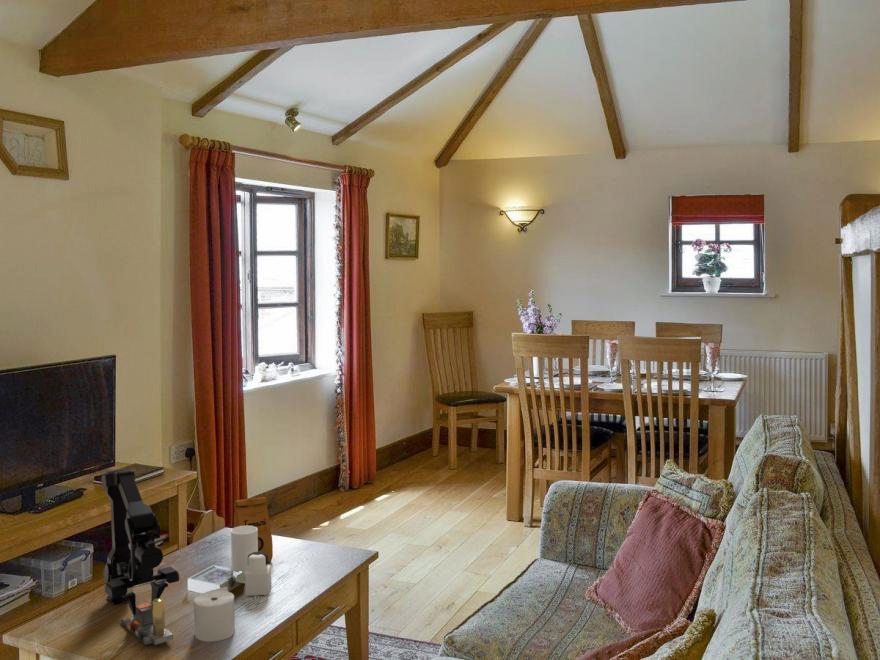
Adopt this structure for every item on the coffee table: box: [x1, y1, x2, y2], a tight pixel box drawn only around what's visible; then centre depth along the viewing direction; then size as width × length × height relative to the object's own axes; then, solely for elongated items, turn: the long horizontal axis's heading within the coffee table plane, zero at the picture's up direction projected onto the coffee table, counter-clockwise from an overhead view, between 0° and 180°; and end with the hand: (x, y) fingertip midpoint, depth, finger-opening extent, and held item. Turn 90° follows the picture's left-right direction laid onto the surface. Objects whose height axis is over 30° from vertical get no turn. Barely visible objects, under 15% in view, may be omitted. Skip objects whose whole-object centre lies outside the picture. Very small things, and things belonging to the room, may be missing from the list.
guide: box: [120, 618, 154, 646], centre depth 233 cm, size 18×7×1 cm, turn 41°
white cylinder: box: [230, 526, 258, 580], centre depth 269 cm, size 8×8×16 cm
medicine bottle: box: [244, 551, 272, 597], centre depth 259 cm, size 7×7×12 cm
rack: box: [127, 597, 174, 646], centre depth 229 cm, size 17×7×10 cm, turn 41°
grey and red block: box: [132, 601, 153, 626], centre depth 233 cm, size 6×4×4 cm, turn 41°
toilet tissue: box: [193, 586, 236, 643], centre depth 231 cm, size 11×12×10 cm
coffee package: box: [233, 496, 274, 563], centre depth 283 cm, size 10×12×22 cm
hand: (143, 611), depth 233 cm, fingers open, 5 cm apart
